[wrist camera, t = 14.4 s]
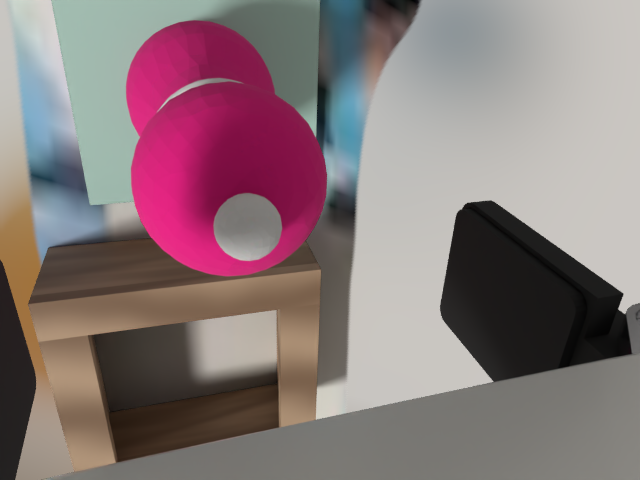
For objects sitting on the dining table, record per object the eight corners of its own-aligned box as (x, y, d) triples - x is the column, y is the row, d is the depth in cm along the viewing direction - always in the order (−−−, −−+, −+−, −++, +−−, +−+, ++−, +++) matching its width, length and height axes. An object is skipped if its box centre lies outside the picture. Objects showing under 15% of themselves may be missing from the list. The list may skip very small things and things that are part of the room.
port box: (48, 247, 33) (27, 304, 27) (296, 224, 37) (321, 269, 32) (92, 430, 40) (82, 502, 35) (294, 394, 44) (314, 453, 39)
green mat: (42, -63, 26) (39, -64, 25) (317, -51, 29) (321, -52, 29) (91, 199, 32) (90, 205, 32) (311, 183, 36) (314, 187, 35)
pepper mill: (181, -19, 27) (227, 20, 10) (283, 72, 31) (441, 210, 14) (102, 90, 29) (29, 280, 12) (209, 165, 32) (271, 393, 15)
